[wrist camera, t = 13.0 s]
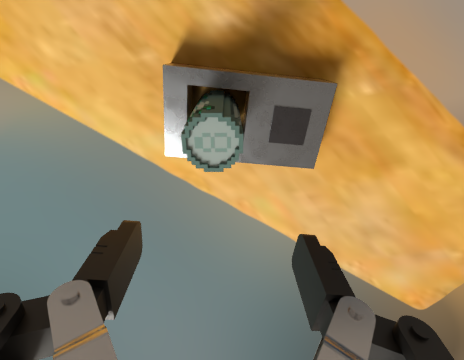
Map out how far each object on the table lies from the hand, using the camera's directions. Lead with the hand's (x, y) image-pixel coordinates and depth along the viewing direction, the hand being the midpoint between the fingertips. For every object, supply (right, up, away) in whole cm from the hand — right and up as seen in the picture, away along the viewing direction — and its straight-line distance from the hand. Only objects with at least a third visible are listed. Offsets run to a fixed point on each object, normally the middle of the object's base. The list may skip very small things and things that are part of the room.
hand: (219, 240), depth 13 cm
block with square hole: (+2, +13, +26) cm, 29 cm away
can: (-1, +14, +25) cm, 29 cm away
